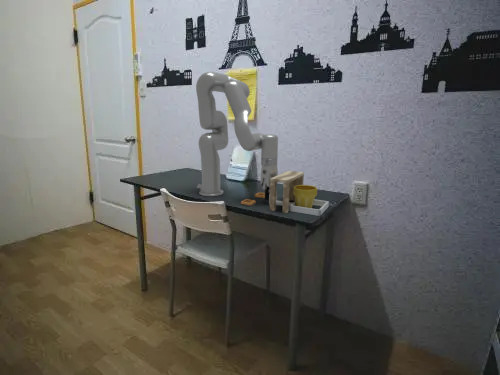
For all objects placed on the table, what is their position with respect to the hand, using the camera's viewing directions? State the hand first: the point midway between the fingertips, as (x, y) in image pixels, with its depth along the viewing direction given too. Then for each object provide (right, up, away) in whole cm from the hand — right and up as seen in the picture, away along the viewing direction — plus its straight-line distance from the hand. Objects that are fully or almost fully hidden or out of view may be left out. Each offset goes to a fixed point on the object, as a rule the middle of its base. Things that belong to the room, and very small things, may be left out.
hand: (268, 199), depth 142 cm
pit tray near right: (-9, -2, -2) cm, 10 cm away
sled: (+13, -3, -6) cm, 14 cm away
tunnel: (+8, -2, -4) cm, 9 cm away
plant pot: (+16, -4, -8) cm, 18 cm away
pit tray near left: (-3, +1, +9) cm, 10 cm away
